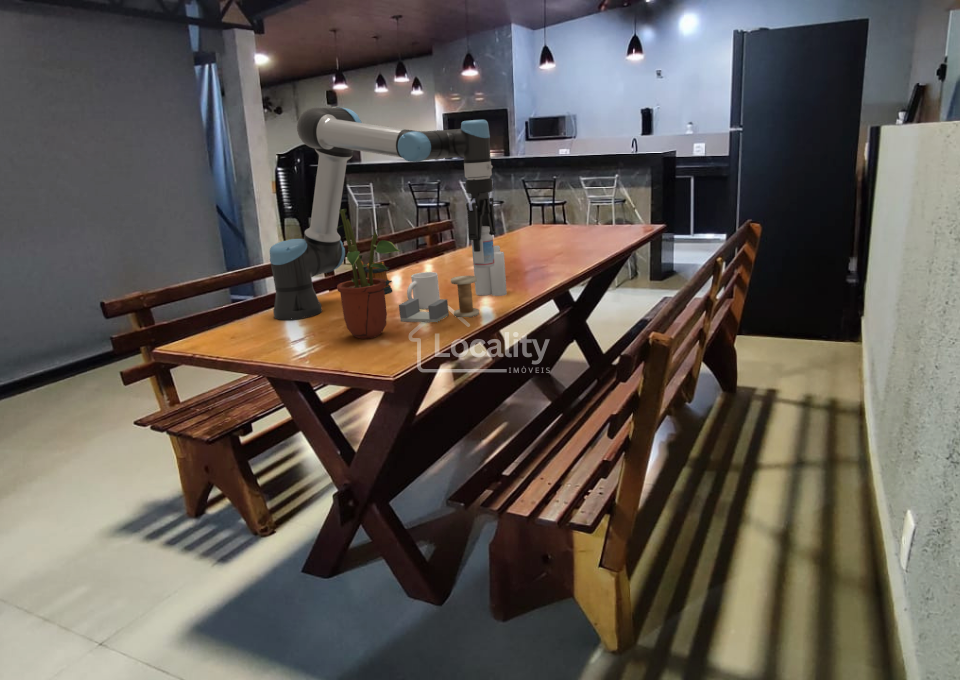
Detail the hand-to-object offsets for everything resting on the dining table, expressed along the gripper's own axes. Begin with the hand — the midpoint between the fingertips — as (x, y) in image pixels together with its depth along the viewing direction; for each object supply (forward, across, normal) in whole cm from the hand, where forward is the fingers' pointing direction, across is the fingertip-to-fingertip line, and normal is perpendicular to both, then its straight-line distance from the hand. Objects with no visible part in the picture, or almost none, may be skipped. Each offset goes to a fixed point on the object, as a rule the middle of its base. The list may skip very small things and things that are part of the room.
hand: (484, 260), depth 193 cm
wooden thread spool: (+16, -1, +7) cm, 18 cm away
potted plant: (+17, -24, +24) cm, 38 cm away
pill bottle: (+2, 0, 0) cm, 2 cm away
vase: (+17, +26, +10) cm, 33 cm away
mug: (+17, +5, +25) cm, 30 cm away
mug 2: (+17, +23, +54) cm, 61 cm away
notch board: (+17, -7, +18) cm, 25 cm away
